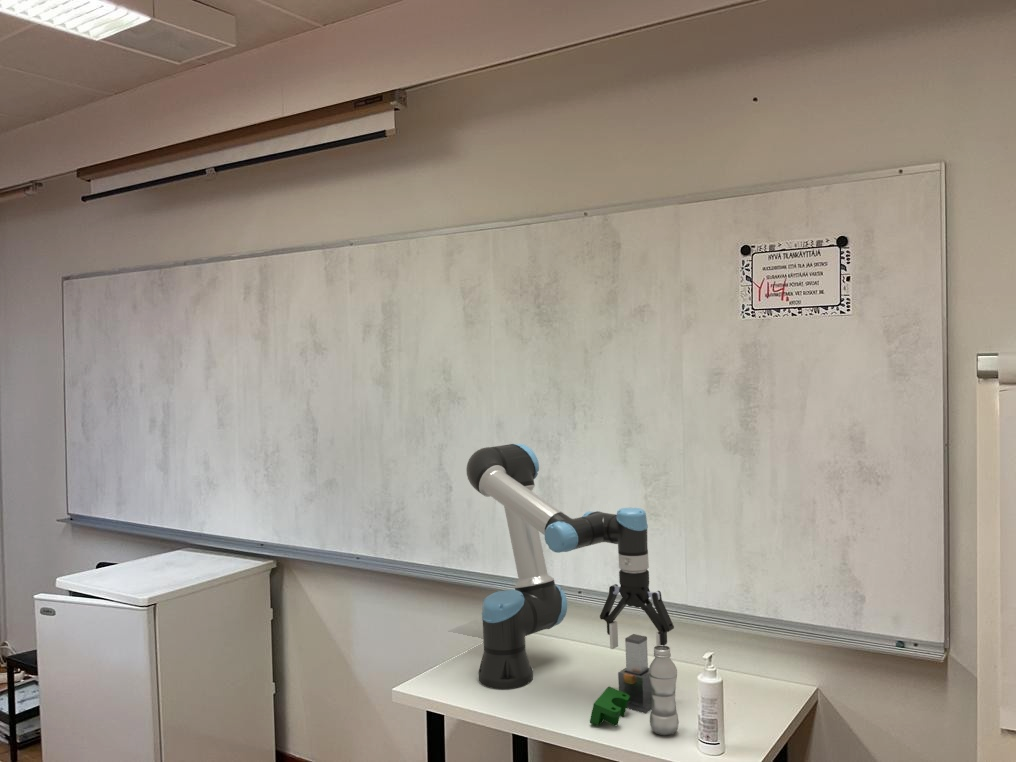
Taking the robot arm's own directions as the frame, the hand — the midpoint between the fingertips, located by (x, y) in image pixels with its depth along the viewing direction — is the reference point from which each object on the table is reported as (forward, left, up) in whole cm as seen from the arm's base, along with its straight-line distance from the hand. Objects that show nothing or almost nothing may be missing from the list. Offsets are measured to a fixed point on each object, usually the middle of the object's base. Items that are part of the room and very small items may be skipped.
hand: (637, 652), depth 211 cm
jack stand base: (0, 0, -13) cm, 13 cm away
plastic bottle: (+14, -12, -13) cm, 22 cm away
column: (0, 0, -11) cm, 11 cm away
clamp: (-1, -13, -13) cm, 18 cm away
